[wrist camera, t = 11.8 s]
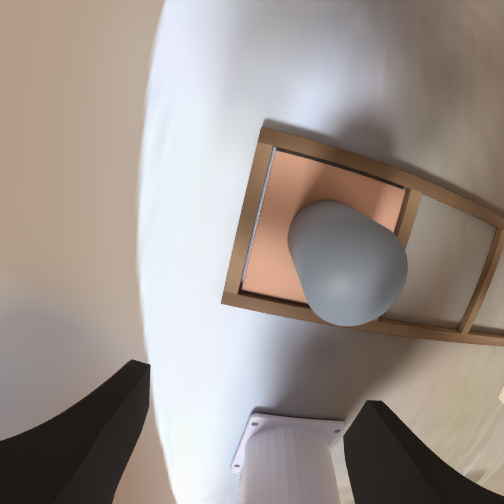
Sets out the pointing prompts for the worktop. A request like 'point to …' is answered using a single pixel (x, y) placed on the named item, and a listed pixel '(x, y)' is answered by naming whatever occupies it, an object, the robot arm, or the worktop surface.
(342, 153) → the board
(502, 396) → the die
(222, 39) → the worktop surface
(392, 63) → the worktop surface
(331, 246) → the grey rounded cylinder
